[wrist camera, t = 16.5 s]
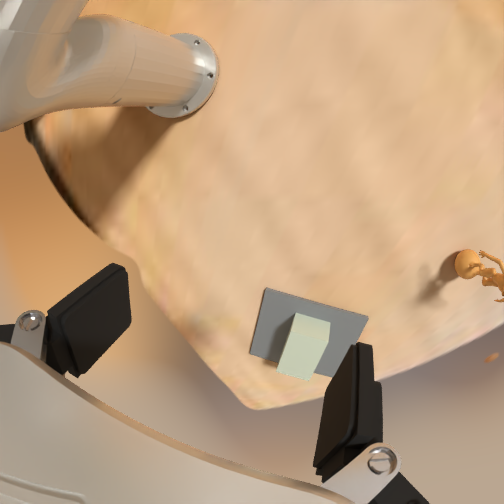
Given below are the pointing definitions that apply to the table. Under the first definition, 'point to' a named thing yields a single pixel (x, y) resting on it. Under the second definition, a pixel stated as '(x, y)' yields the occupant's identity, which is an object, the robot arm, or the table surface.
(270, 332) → the mat
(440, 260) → the table surface
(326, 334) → the card box
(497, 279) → the figurine
